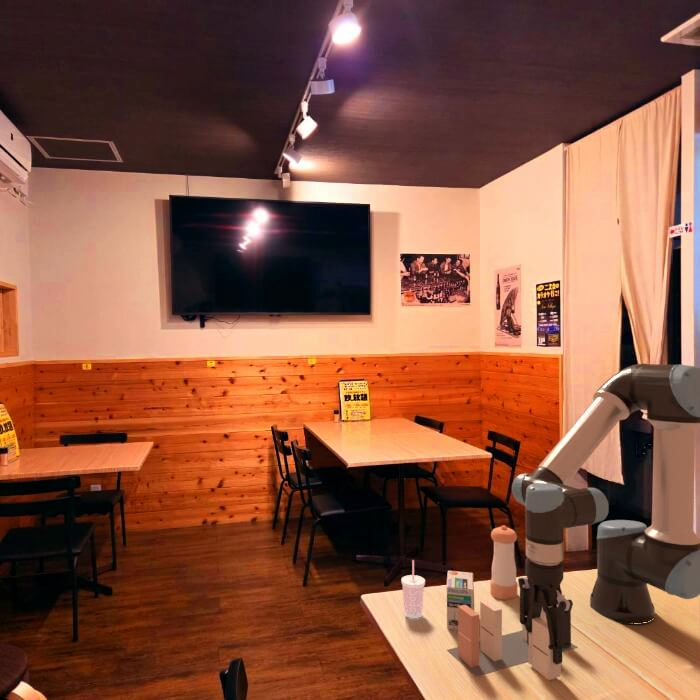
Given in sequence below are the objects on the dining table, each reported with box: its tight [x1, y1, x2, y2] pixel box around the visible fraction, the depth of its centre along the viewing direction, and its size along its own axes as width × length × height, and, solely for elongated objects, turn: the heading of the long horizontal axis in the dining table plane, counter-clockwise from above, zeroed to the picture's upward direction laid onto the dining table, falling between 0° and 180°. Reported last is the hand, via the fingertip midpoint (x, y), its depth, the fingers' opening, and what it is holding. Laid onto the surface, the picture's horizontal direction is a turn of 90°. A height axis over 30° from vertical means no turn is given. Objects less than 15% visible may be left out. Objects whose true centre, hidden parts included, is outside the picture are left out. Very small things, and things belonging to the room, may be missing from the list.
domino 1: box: [457, 605, 480, 668], centre depth 121 cm, size 2×5×11 cm, turn 23°
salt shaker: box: [490, 525, 518, 601], centre depth 154 cm, size 7×7×19 cm
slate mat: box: [446, 630, 578, 677], centre depth 126 cm, size 28×11×1 cm, turn 113°
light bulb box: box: [446, 570, 475, 631], centre depth 139 cm, size 11×7×11 cm, turn 168°
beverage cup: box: [401, 559, 426, 619], centre depth 143 cm, size 6×6×14 cm
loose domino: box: [531, 617, 556, 681], centre depth 116 cm, size 2×5×11 cm, turn 23°
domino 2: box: [479, 599, 503, 661], centre depth 123 cm, size 2×5×11 cm, turn 24°
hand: (544, 669), depth 116 cm, fingers closed on loose domino, 5 cm apart
